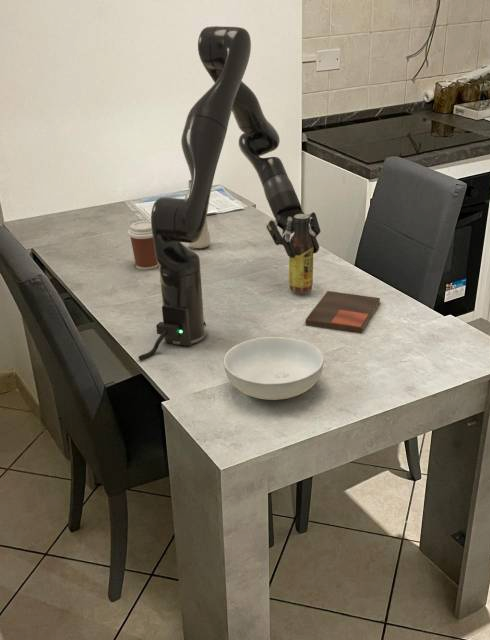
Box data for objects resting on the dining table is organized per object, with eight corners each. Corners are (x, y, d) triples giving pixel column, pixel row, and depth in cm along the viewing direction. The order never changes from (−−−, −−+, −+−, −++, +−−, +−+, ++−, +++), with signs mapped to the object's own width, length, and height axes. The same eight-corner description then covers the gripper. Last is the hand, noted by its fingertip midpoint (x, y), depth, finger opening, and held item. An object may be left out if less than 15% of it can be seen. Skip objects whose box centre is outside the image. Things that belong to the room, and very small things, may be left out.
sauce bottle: (307, 296, 207) (308, 222, 197) (285, 292, 209) (284, 219, 199) (316, 286, 212) (317, 214, 202) (294, 283, 214) (294, 211, 204)
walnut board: (361, 333, 191) (361, 327, 190) (305, 325, 195) (305, 319, 194) (379, 303, 205) (380, 297, 204) (327, 296, 209) (327, 290, 208)
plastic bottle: (213, 248, 239) (209, 182, 229) (191, 252, 237) (186, 185, 227) (207, 241, 245) (203, 176, 234) (185, 244, 242) (180, 179, 232)
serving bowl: (340, 377, 173) (341, 349, 169) (291, 423, 157) (291, 393, 154) (259, 354, 182) (258, 327, 178) (205, 396, 166) (203, 367, 163)
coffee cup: (125, 269, 226) (120, 228, 220) (140, 257, 234) (136, 218, 228) (154, 273, 224) (150, 231, 218) (168, 261, 231) (165, 221, 225)
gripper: (261, 193, 201) (286, 253, 198) (310, 185, 207) (334, 242, 204) (252, 208, 207) (275, 266, 205) (299, 199, 214) (323, 255, 211)
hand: (305, 254), depth 204 cm, fingers closed on sauce bottle, 6 cm apart
